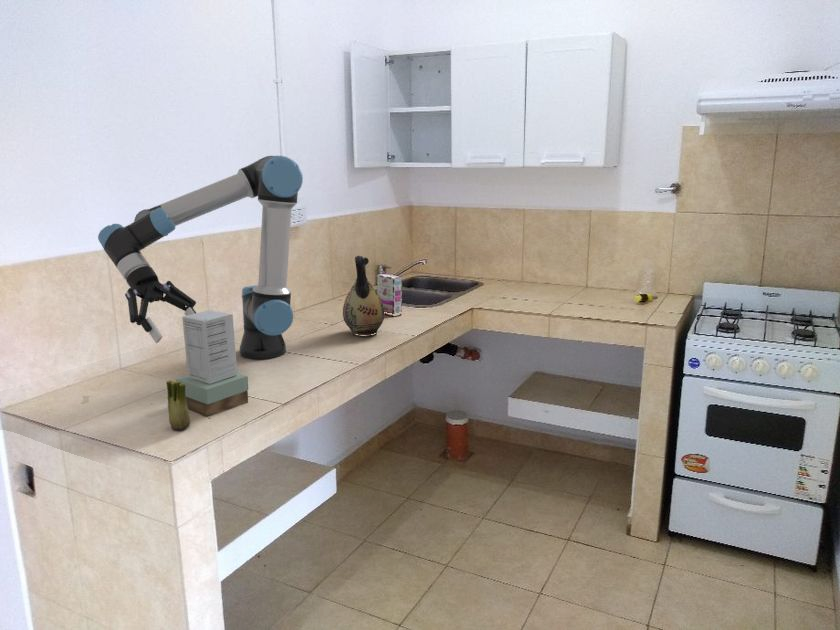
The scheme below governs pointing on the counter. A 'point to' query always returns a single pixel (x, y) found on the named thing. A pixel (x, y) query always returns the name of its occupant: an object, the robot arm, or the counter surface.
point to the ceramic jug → (363, 303)
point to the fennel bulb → (177, 406)
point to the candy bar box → (390, 292)
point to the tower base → (217, 404)
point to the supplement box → (210, 346)
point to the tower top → (214, 388)
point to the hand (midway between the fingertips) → (180, 334)
